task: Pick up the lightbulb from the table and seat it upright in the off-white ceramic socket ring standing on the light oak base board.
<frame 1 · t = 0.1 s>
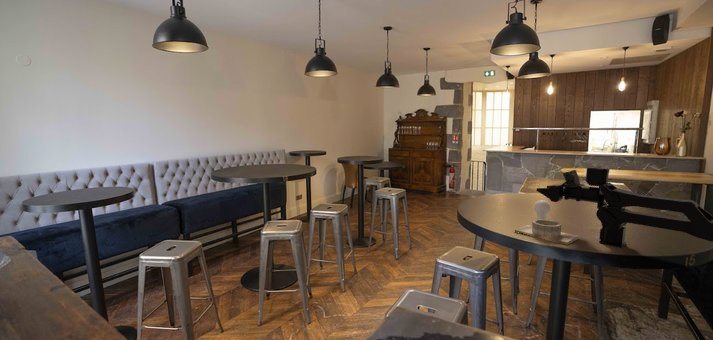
hand: (541, 188, 140), 17 cm above the table, tool horizontal, fingers open, 9 cm apart
lightbulb: (541, 226, 144), on the table
lamp base: (545, 235, 132), on the table
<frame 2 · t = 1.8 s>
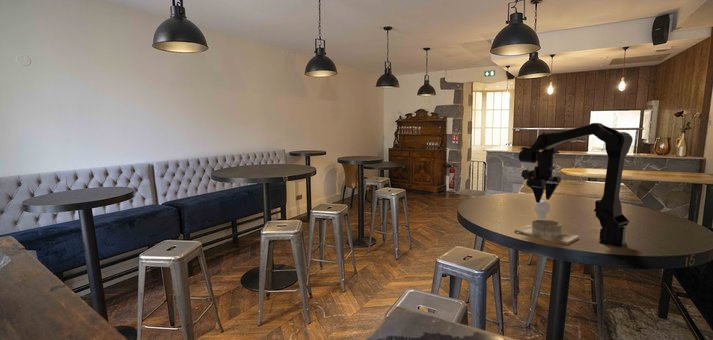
hand: (542, 201, 143), 11 cm above the table, tool pointing down, fingers open, 9 cm apart
nothing on the table moved.
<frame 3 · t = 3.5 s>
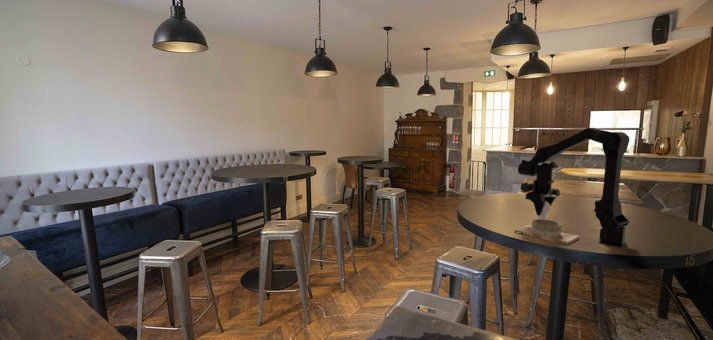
hand: (541, 214, 144), 5 cm above the table, tool pointing down, fingers closed on lightbulb, 6 cm apart
lightbulb: (541, 226, 144), on the table, touching gripper
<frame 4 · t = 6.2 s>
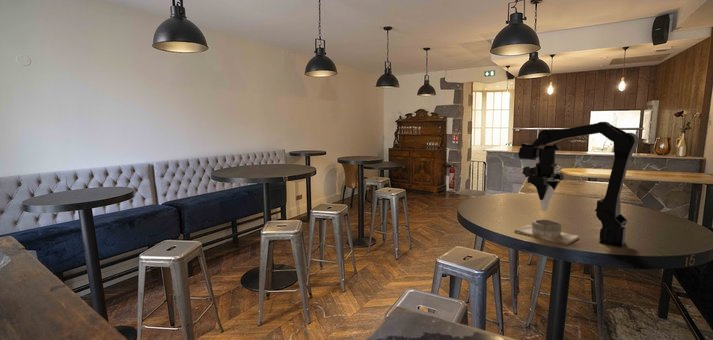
hand: (544, 198, 139), 13 cm above the table, tool pointing down, fingers closed on lightbulb, 6 cm apart
lightbulb: (544, 211, 139), point 7 cm above the table, touching gripper
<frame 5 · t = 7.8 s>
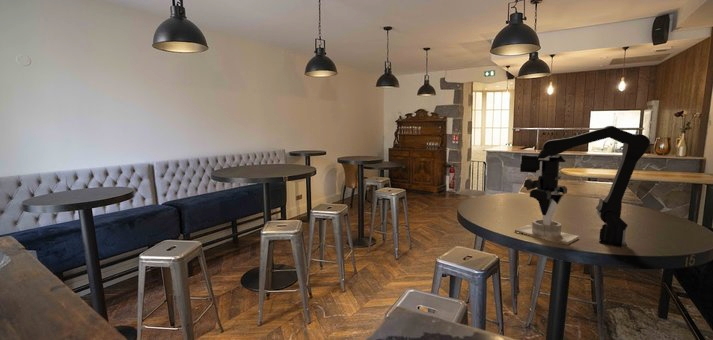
hand: (547, 213, 130), 9 cm above the table, tool pointing down, fingers closed on lightbulb, 6 cm apart
lightbulb: (546, 226, 131), point 3 cm above the table, touching gripper
when the fingers open (6 cm above the table, at t = 9.2 s): lightbulb stays where it is, resting on lamp base.
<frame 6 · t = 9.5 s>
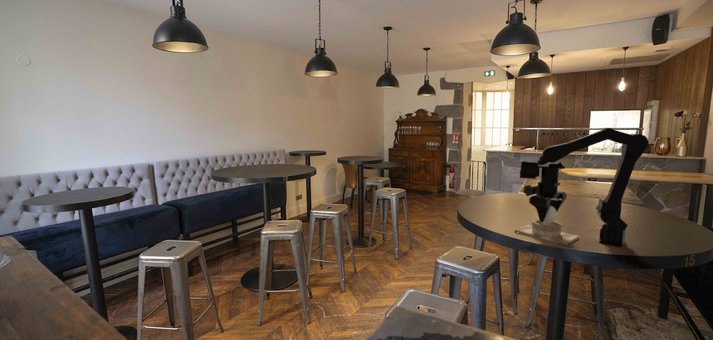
hand: (546, 219, 131), 6 cm above the table, tool pointing down, fingers open, 9 cm apart
lightbulb: (546, 233, 132), point 1 cm above the table, touching lamp base
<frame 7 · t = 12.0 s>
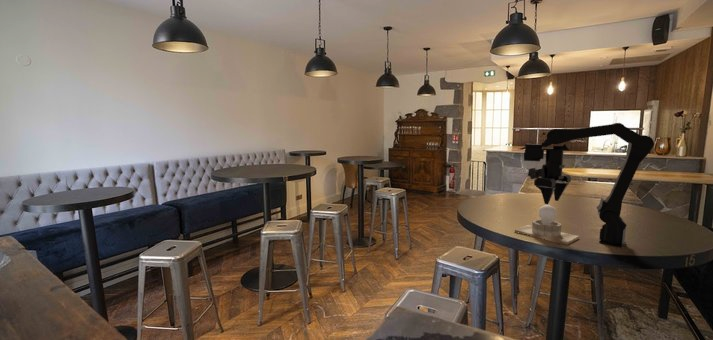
hand: (551, 202, 131), 13 cm above the table, tool pointing down, fingers open, 9 cm apart
nothing on the table moved.
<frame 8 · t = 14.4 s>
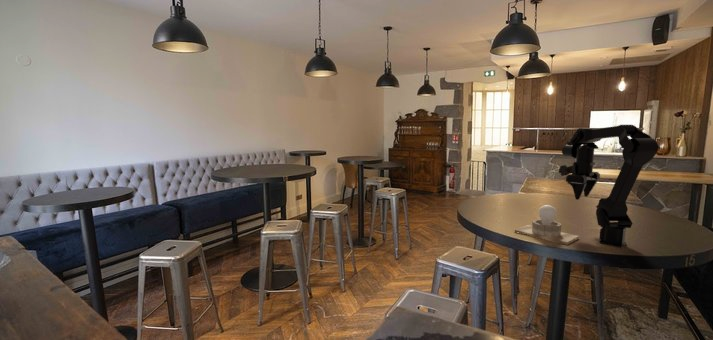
hand: (581, 197, 138), 13 cm above the table, tool pointing down, fingers open, 9 cm apart
nothing on the table moved.
at the end: lightbulb 0.1 cm off-centre on the lamp base, point 0.8 cm above the lamp base's base; lightbulb tilted 0°; the gripper is holding nothing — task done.
